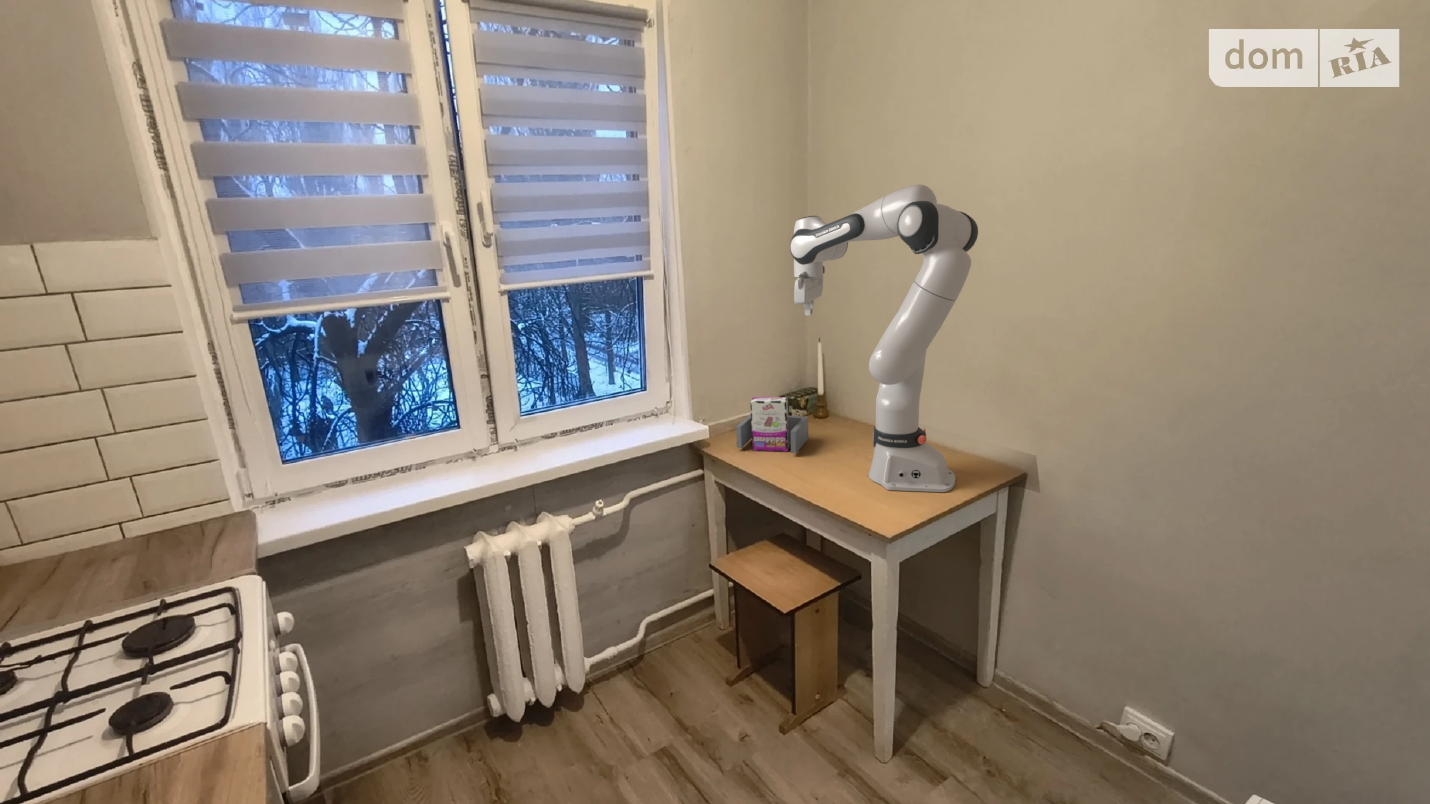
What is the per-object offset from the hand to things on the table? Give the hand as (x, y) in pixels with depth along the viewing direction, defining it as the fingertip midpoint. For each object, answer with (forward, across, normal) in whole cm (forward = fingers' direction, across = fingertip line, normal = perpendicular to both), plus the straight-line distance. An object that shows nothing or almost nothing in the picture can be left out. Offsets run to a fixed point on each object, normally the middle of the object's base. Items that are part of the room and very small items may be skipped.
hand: (808, 314), depth 201 cm
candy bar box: (+39, -19, +7) cm, 44 cm away
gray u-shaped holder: (+39, -17, +7) cm, 43 cm away
